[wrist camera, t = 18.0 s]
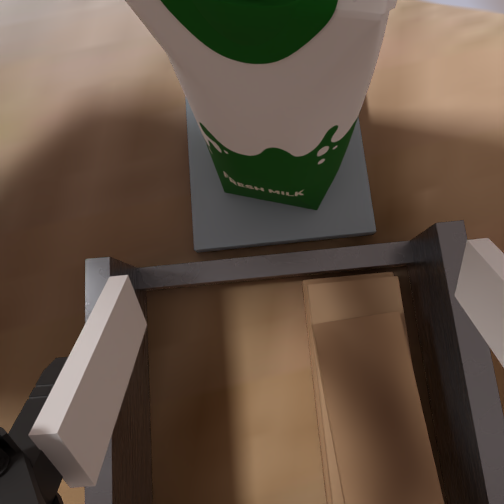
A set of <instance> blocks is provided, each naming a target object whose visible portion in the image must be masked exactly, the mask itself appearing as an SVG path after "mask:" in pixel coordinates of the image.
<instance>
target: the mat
mask: <svg viewBox="0 0 504 504" xmlns="http://www.w3.org/2000/svg"><path fill="white" fill-rule="evenodd" d="M185 98H186V96H185ZM186 116H187V133H188V151H189V169H190V186H191V204H192V221H193V239H194V250H195V251H196V252H197V253H198V252H208V251H218V250H228V249H237V248H247V247H257V246H267V245H276V244H286V243H296V242H306V241H316V240H325V239H335V238H345V237H355V236H365V235H373V234H374V233H375V232H376V226H375V220H374V213H373V207H372V200H371V194H370V187H369V181H368V175H367V168H366V162H365V155H364V149H363V143H362V136H361V130H360V123H359V117H358V119H357V122H356V125H355V128H354V131H353V133H352V136H351V139H350V142H349V145H348V148H347V150H346V153H345V155H344V158H343V160H342V163H341V166H340V168H339V170H338V172H337V174H336V176H335V178H334V180H333V182H332V184H331V186H330V187H329V189H328V191H327V193H326V195H325V197H324V199H323V200H322V202H321V204H320V206H319V208H318V210H312V209H307V208H302V207H297V206H292V205H286V204H281V203H276V202H271V201H266V200H260V199H255V198H250V197H245V196H240V195H235V194H229V193H225V192H224V189H223V187H222V184H221V181H220V179H219V176H218V174H217V171H216V168H215V166H214V163H213V160H212V158H211V155H210V152H209V150H208V147H207V144H206V142H205V140H204V137H203V135H202V133H201V130H200V128H199V126H198V123H197V121H196V119H195V117H194V114H193V112H192V110H191V107H190V105H189V103H188V100H187V98H186Z"/></svg>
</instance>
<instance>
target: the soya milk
mask: <svg viewBox="0 0 504 504" xmlns="http://www.w3.org/2000/svg"><path fill="white" fill-rule="evenodd" d="M125 1H126V2H127V3H128V5H129V6H130V7H131V8H132V10H133V11H134V12H135V13H136V15H137V16H138V17H139V19H140V20H141V21H142V22H143V24H144V25H145V26H146V27H147V29H148V30H149V31H150V33H151V34H152V35H153V36H154V38H155V39H156V40H157V42H158V43H159V44H160V45H161V47H162V48H163V49H164V50H165V52H166V53H167V55H168V57H169V59H170V62H171V64H172V66H173V68H174V71H175V73H176V75H177V78H178V80H179V82H180V84H181V87H182V89H183V91H184V94H185V96H186V98H187V100H188V103H189V105H190V107H191V110H192V112H193V114H194V117H195V119H196V121H197V123H198V126H199V128H200V130H201V133H202V135H203V137H204V140H205V142H206V144H207V147H208V150H209V152H210V155H211V158H212V160H213V163H214V166H215V168H216V171H217V174H218V176H219V179H220V181H221V184H222V187H223V189H224V192H225V193H229V194H235V195H240V196H245V197H250V198H255V199H260V200H266V201H271V202H276V203H281V204H286V205H292V206H297V207H302V208H307V209H312V210H318V208H319V206H320V204H321V202H322V200H323V199H324V197H325V195H326V193H327V191H328V189H329V187H330V186H331V184H332V182H333V180H334V178H335V176H336V174H337V172H338V170H339V168H340V166H341V163H342V160H343V158H344V155H345V153H346V150H347V148H348V145H349V142H350V139H351V136H352V133H353V131H354V128H355V125H356V122H357V119H358V116H359V113H360V111H361V108H362V105H363V102H364V99H365V96H366V93H367V90H368V87H369V85H370V82H371V79H372V76H373V72H374V69H375V66H376V63H377V59H378V56H379V52H380V48H381V45H382V41H383V37H384V33H385V29H386V24H387V20H388V15H389V11H390V10H391V9H393V8H395V6H396V2H397V0H125Z"/></svg>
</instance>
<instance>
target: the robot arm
mask: <svg viewBox="0 0 504 504" xmlns="http://www.w3.org/2000/svg"><path fill="white" fill-rule="evenodd" d="M455 297H456V299H457V300H458V302H459V303H460V305H461V306H462V308H463V309H464V310H465V312H466V313H467V315H468V316H469V318H470V319H471V321H472V322H473V324H474V325H475V327H476V328H477V329H478V331H479V332H480V334H481V335H482V337H483V338H484V340H485V341H486V343H487V344H488V345H489V347H490V348H491V350H492V351H493V353H494V354H495V356H496V357H497V359H498V360H499V362H500V363H501V364H502V366H503V367H504V253H503V252H502V251H501V250H500V249H499V248H498V247H497V246H496V245H495V244H494V243H493V242H492V241H491V240H490V239H489V238H481V239H472V240H467V242H466V247H465V251H464V256H463V260H462V265H461V269H460V273H459V278H458V282H457V287H456V291H455ZM146 327H147V323H146V320H145V318H144V315H143V312H142V310H141V307H140V305H139V302H138V299H137V297H136V294H135V292H134V289H133V286H132V284H131V281H130V279H129V276H128V275H121V276H111V277H109V279H108V281H107V283H106V285H105V286H104V288H103V290H102V292H101V294H100V296H99V298H98V300H97V302H96V304H95V306H94V308H93V310H92V312H91V314H90V316H89V318H88V320H87V322H86V324H85V326H84V327H83V329H82V331H81V333H80V335H79V337H78V339H77V341H76V343H75V345H74V347H73V349H72V351H71V353H70V355H69V357H62V358H56V359H55V360H54V361H53V362H52V363H51V364H50V365H49V366H48V367H47V368H46V369H45V370H44V371H43V373H42V374H41V376H40V378H39V380H38V382H37V383H36V387H35V388H34V389H33V390H32V392H31V394H30V396H29V399H27V401H26V403H25V405H24V407H23V408H22V410H21V412H20V414H19V415H18V417H17V419H16V421H15V423H14V424H13V426H12V428H11V430H10V432H9V433H7V432H6V431H5V430H4V429H3V428H1V427H0V504H63V501H62V498H61V496H60V495H59V493H58V492H57V491H58V488H59V486H60V483H61V480H62V478H63V479H64V481H65V482H66V483H67V484H68V486H69V487H70V488H74V487H89V486H95V485H96V482H97V479H98V476H99V473H100V470H101V467H102V464H103V461H104V457H105V454H106V451H107V448H108V445H109V442H110V439H111V436H112V433H113V429H114V426H115V423H116V420H117V417H118V414H119V411H120V408H121V404H122V401H123V398H124V395H125V392H126V389H127V386H128V383H129V380H130V376H131V373H132V370H133V367H134V364H135V361H136V358H137V355H138V351H139V348H140V345H141V342H142V339H143V336H144V333H145V330H146Z"/></svg>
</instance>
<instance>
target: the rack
mask: <svg viewBox="0 0 504 504" xmlns="http://www.w3.org/2000/svg"><path fill="white" fill-rule="evenodd" d="M466 242H467V235H466V230H465V225H464V221H463V220H460V221H451V222H441V223H435V224H434V225H432V226H431V227H429V228H428V229H426V230H425V231H424V232H422V233H421V234H419V235H418V236H416V237H415V238H413V239H412V240H410V241H401V242H391V243H381V244H371V245H362V246H352V247H342V248H332V249H322V250H312V251H302V252H292V253H282V254H272V255H262V256H252V257H242V258H232V259H222V260H212V261H202V262H192V263H182V264H173V265H163V266H153V267H143V268H137V267H134V266H132V265H129V264H127V263H124V262H122V261H119V260H117V259H114V258H112V257H102V258H92V259H85V324H86V322H87V320H88V318H89V316H90V314H91V312H92V310H93V308H94V306H95V304H96V302H97V300H98V298H99V296H100V294H101V292H102V290H103V288H104V286H105V285H106V283H107V281H108V279H109V277H111V276H121V275H128V276H129V279H130V281H131V284H132V286H133V289H134V292H135V294H136V297H137V299H138V302H139V305H140V307H141V310H142V312H143V315H144V318H145V320H146V323H147V297H146V291H150V290H160V289H171V288H181V287H191V286H202V285H212V284H223V283H233V282H243V281H254V280H264V279H274V278H285V277H295V276H306V275H316V274H326V273H337V272H347V271H358V270H368V269H378V268H389V267H399V266H407V269H408V275H409V281H410V287H411V293H412V299H413V305H414V311H415V317H416V323H417V328H418V334H419V340H420V346H421V352H422V358H423V364H424V370H425V376H426V382H427V388H428V393H429V399H430V405H431V411H432V417H433V423H434V429H435V435H436V441H437V447H438V453H439V458H440V464H441V470H442V476H443V482H444V488H445V494H446V500H447V504H504V416H503V412H502V407H501V402H500V397H499V392H498V387H497V382H496V377H495V372H494V367H493V363H492V358H491V353H490V348H489V345H488V344H487V343H486V341H485V340H484V338H483V337H482V335H481V334H480V332H479V331H478V329H477V328H476V327H475V325H474V324H473V322H472V321H471V319H470V318H469V316H468V315H467V313H466V312H465V310H464V309H463V308H462V306H461V305H460V303H459V302H458V300H457V299H456V297H455V291H456V287H457V282H458V278H459V273H460V269H461V265H462V260H463V256H464V251H465V247H466ZM85 504H153V495H152V462H151V429H150V396H149V363H148V330H147V327H146V330H145V333H144V336H143V339H142V342H141V345H140V348H139V351H138V355H137V358H136V361H135V364H134V367H133V370H132V373H131V376H130V380H129V383H128V386H127V389H126V392H125V395H124V398H123V401H122V404H121V408H120V411H119V414H118V417H117V420H116V423H115V426H114V429H113V433H112V436H111V439H110V442H109V445H108V448H107V451H106V454H105V457H104V461H103V464H102V467H101V470H100V473H99V476H98V479H97V482H96V485H95V486H89V487H85Z"/></svg>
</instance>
